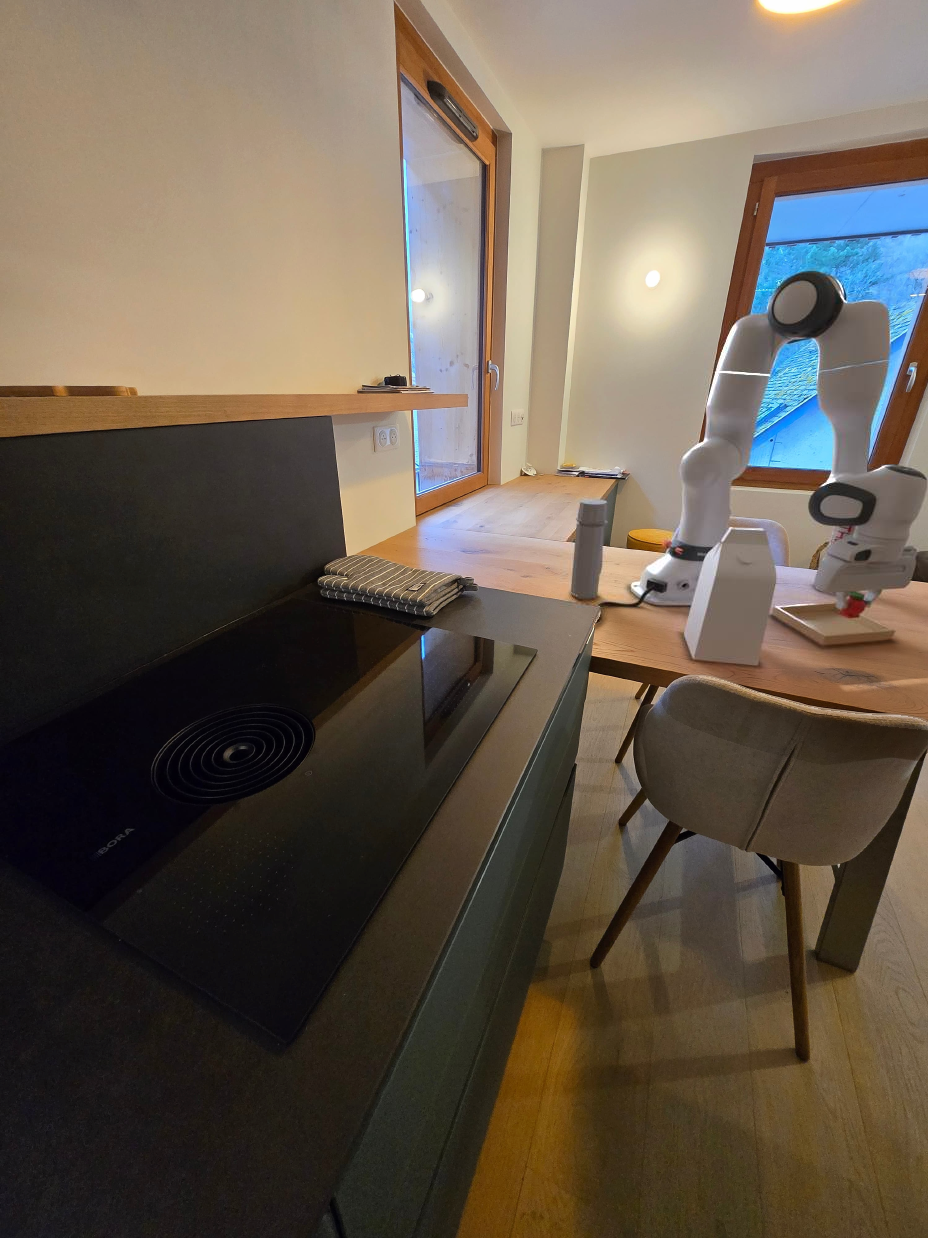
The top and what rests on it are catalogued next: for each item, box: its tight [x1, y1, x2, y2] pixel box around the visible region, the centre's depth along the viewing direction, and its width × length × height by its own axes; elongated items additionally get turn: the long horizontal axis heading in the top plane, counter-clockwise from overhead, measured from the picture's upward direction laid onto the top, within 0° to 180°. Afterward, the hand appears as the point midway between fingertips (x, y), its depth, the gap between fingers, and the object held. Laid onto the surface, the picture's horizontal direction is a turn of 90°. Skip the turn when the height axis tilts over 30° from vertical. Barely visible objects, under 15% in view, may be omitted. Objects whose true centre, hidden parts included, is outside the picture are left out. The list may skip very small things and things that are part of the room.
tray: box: [771, 601, 896, 646], centre depth 112 cm, size 17×16×3 cm
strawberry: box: [839, 591, 866, 618], centre depth 108 cm, size 4×4×5 cm
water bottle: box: [570, 498, 609, 600], centre depth 126 cm, size 9×8×25 cm
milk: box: [683, 526, 777, 666], centre depth 99 cm, size 12×12×26 cm
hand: (852, 607), depth 109 cm, fingers closed on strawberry, 4 cm apart
